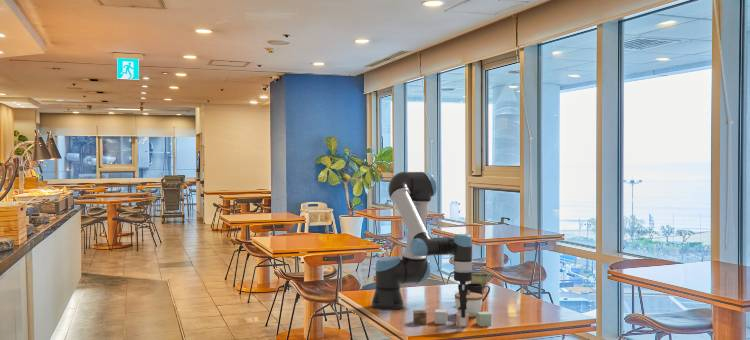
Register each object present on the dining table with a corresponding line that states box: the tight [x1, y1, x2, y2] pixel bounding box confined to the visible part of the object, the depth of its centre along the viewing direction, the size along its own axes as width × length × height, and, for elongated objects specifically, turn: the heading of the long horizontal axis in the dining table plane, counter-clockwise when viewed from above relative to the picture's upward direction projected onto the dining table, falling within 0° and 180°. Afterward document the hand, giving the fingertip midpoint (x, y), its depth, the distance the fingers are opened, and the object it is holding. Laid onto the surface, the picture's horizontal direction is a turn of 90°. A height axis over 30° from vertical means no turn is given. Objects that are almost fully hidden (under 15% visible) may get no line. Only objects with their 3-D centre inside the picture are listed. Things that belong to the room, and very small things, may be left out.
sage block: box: [475, 311, 492, 327], centre depth 271 cm, size 5×5×5 cm
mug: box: [466, 283, 491, 304], centre depth 312 cm, size 8×12×10 cm
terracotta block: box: [455, 311, 470, 328], centre depth 269 cm, size 5×5×5 cm
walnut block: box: [412, 309, 427, 326], centre depth 272 cm, size 5×5×5 cm
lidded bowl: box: [454, 290, 484, 318], centre depth 288 cm, size 13×13×11 cm
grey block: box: [434, 308, 449, 325], centre depth 274 cm, size 5×5×5 cm
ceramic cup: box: [470, 270, 494, 292], centre depth 347 cm, size 13×10×10 cm
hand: (462, 321), depth 269 cm, fingers open, 13 cm apart
